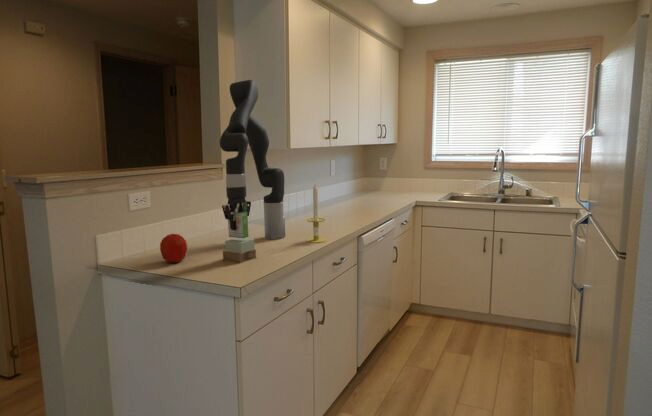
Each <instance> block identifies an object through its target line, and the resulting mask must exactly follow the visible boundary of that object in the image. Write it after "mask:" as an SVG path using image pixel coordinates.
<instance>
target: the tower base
mask: <svg viewBox="0 0 652 416" xmlns="http://www.w3.org/2000/svg"><path fill="white" fill-rule="evenodd" d="M256 250H257V249H256V248H254V249H253V250H250V251H247V252H244V253H234V252H227V251H225V250H223V251H222V259H223V261H226V262H231V263H237V264H242V263H244V262H248V261H251V260H254V259H256V258H257V251H256Z"/></svg>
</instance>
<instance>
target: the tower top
mask: <svg viewBox="0 0 652 416" xmlns="http://www.w3.org/2000/svg"><path fill="white" fill-rule="evenodd" d="M224 247H225V248H224V249H225V250H224V251H227V252H234V253H244V252H247V251H250V250H253V249H255V239H254V238H248V237H246V238H232V239H228V240H225V242H224Z"/></svg>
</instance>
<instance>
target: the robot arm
mask: <svg viewBox="0 0 652 416" xmlns="http://www.w3.org/2000/svg"><path fill="white" fill-rule="evenodd" d="M229 93H230V98H231V99H232V100H231V101H232V103H233V105H234V107H235V109H234V111H233V112H232V113H231V114H230V117H229V121H228V122H229V123H228V125H227V127H226V128H225V129H224V131H223V132H222V134H221V136H220V139H219V147H220V148H221V150H222V151H223V152H226V153H231V152H233V153H235V152H236V153H237V155H236V156H235V157H230V158H227V159H226V160H225V172H226V173H225V187H226V188H225V189H226V190H225V191H226V193H225V194H226V198H227V204H223V205H221V208H222V211H223V215H224V218H225V220H227V221H228V220H230V228H231V230H236V221H235V220H236V215H237V213H238V211H241V212H244V203H247V216H248V217H249V216H250V212H251V206H252V201H249V200H246V198H247V181H246V179H247V178H246V173H245V172H246V169H245V160H246V155H247V150H248V146H249V148H250V151H251V154H252V158H253V161H254V164H255V168H256V169H255V170H256V173H257V174H256V175H257V176H258V181H259V183H260V185H261V186H262V187H263V188H266V189H267V188H270V189H271V191H270V193H268V194H266V195H263V222H264V227H263V228H264V238H265V240H266V239H267V240H279V239H284V238H285V237H286V218H285V215H284V197H285V173H284V171H283V169H281V168H275V167H269V165H268V162H267V154H268V150H269V147H270V146H269V145H270V138H269V136H268V132H267V129H266V127H265V126H264V125H263V124H262V122H260V121H259V120H258V119H257V118H256V117H254V115H252V112H253V110H254V107H255V106H256V103H257V101H258V97H259V89H258V85H257V83H256V82H255V81H254V80H253V79H246V80H241V81H237V82H232V83H231V84H230V85H229ZM232 211H233V212H234V213H233V212H232ZM232 215H233V217H232Z"/></svg>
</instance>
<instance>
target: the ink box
mask: <svg viewBox="0 0 652 416" xmlns="http://www.w3.org/2000/svg"><path fill="white" fill-rule="evenodd" d="M232 212H233V211H232ZM233 213H234V212H233ZM232 217H233V215H232ZM248 217H249V216H247V203H244V212H241V211H238V213H237V215H236V220H235V221H236V230H231V228H230V220H227V227H228V228H227V229H228V230H227V231H228V238H233V239H235V238H248V237H249V222H248V220H249V219H248Z"/></svg>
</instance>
